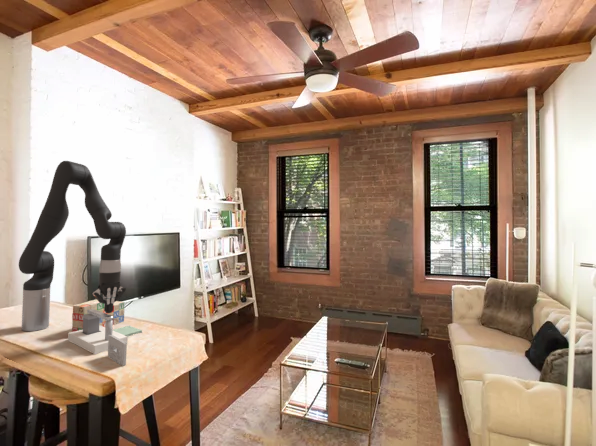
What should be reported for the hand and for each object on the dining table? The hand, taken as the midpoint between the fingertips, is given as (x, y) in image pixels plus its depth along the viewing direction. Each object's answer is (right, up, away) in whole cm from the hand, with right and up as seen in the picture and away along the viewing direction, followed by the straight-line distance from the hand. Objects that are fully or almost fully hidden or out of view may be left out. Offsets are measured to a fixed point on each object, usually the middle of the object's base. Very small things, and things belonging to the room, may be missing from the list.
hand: (108, 312), depth 131 cm
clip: (0, 0, -5) cm, 5 cm away
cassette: (+14, -12, -20) cm, 27 cm away
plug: (-6, -10, -2) cm, 12 cm away
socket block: (-2, -10, -5) cm, 12 cm away
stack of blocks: (-11, -10, +13) cm, 20 cm away
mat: (+3, -11, +7) cm, 13 cm away
